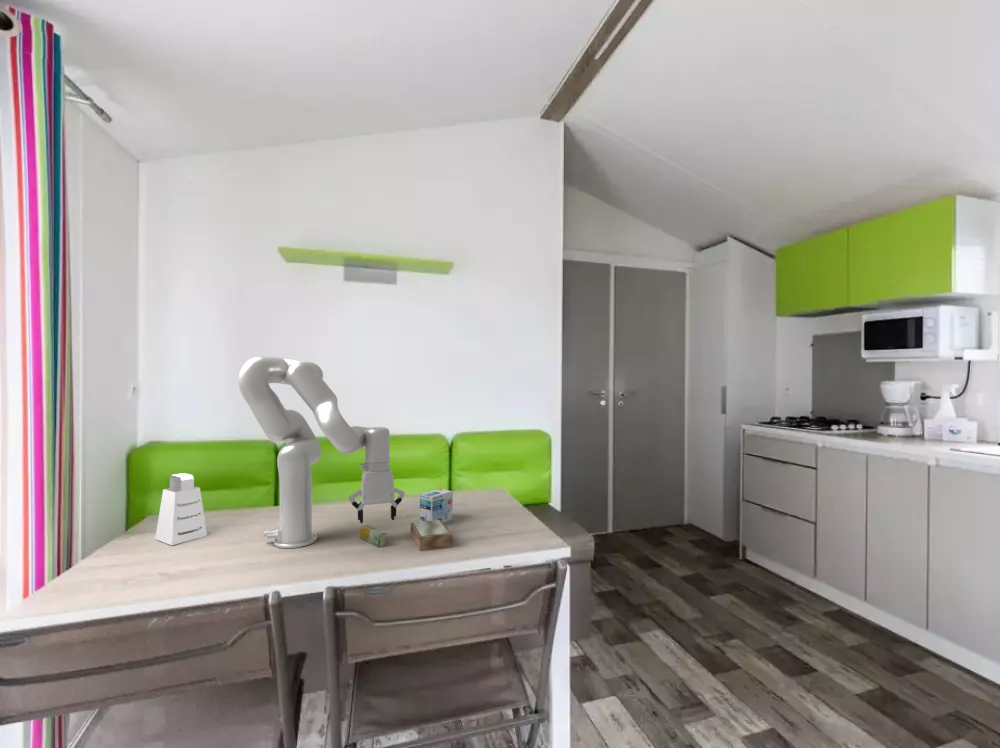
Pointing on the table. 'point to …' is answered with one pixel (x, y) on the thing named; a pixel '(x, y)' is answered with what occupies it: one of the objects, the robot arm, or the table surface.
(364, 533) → the medication box
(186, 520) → the grater
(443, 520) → the light bulb box
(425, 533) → the mirror with brown frame
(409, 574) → the table surface
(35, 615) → the table surface
